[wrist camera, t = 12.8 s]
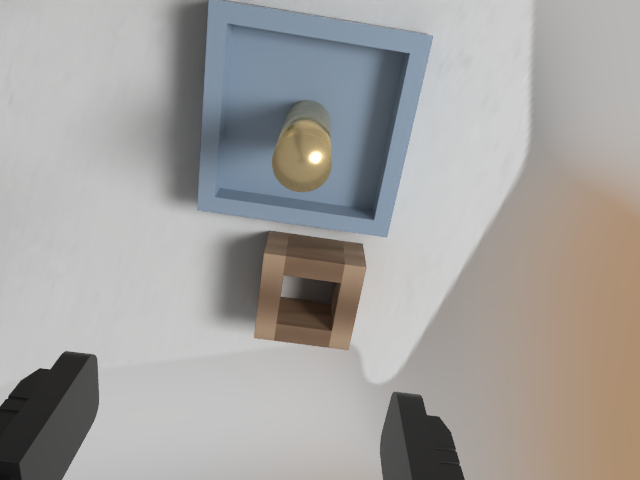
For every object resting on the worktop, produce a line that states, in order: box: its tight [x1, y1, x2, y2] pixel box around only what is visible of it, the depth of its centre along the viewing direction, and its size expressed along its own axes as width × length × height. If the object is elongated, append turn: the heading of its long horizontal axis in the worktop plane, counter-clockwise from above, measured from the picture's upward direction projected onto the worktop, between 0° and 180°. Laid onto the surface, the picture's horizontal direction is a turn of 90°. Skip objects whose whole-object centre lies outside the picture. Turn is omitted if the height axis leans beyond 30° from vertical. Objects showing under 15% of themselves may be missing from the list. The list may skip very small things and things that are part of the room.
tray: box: [197, 0, 433, 237], centre depth 36 cm, size 14×14×3 cm
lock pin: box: [272, 100, 332, 192], centre depth 32 cm, size 3×3×10 cm
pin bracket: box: [254, 231, 366, 350], centre depth 41 cm, size 8×8×4 cm
